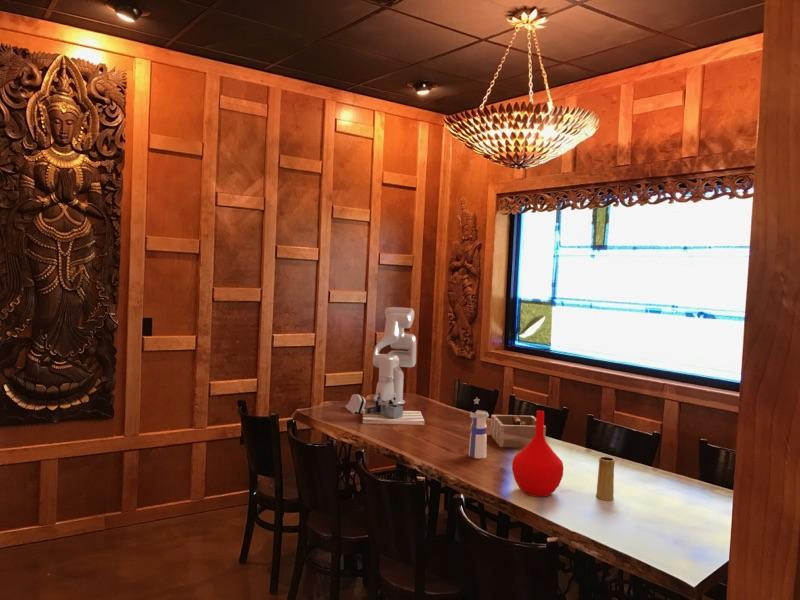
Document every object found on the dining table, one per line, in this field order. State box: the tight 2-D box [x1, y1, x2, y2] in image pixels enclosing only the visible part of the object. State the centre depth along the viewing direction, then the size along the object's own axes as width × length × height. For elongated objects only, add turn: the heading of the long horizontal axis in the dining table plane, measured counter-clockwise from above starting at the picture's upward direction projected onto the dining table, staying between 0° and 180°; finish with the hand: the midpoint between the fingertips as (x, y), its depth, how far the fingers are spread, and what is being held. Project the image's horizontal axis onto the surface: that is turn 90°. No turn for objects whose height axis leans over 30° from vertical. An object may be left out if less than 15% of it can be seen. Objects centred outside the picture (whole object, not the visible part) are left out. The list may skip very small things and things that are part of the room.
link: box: [370, 401, 404, 419], centre depth 331 cm, size 20×7×6 cm, turn 48°
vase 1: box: [511, 410, 564, 498], centre depth 225 cm, size 18×18×30 cm
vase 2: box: [595, 456, 615, 501], centre depth 222 cm, size 6×6×14 cm
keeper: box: [364, 404, 374, 414], centre depth 336 cm, size 4×9×5 cm, turn 138°
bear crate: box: [489, 414, 547, 449], centre depth 295 cm, size 22×21×10 cm
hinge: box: [345, 393, 367, 415], centre depth 348 cm, size 17×5×10 cm, turn 22°
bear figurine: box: [511, 414, 527, 425], centre depth 296 cm, size 14×15×12 cm
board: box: [362, 409, 425, 426], centre depth 331 cm, size 23×32×2 cm
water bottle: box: [468, 397, 490, 459], centre depth 268 cm, size 8×9×25 cm
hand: (384, 411), depth 330 cm, fingers open, 9 cm apart
